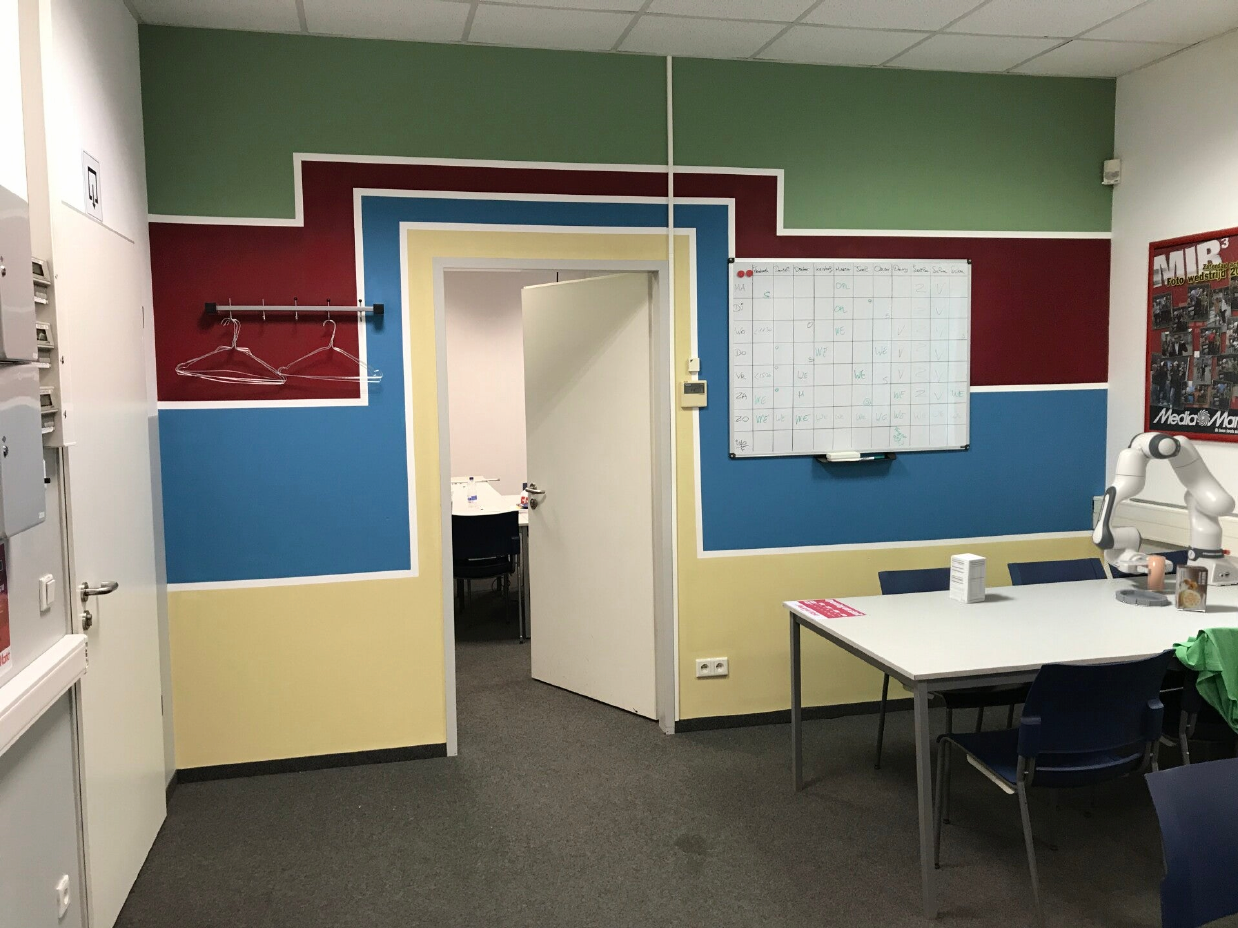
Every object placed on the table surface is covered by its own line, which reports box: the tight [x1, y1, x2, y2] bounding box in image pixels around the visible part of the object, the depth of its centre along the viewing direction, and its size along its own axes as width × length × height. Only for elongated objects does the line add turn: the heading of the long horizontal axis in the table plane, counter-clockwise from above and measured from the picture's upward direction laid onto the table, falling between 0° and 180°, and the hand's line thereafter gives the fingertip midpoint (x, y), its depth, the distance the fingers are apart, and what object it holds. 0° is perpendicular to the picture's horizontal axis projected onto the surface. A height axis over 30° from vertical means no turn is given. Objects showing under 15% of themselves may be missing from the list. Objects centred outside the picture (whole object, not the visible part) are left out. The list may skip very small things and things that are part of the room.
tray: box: [1115, 588, 1169, 607], centre depth 350 cm, size 17×17×2 cm
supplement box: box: [949, 552, 988, 604], centre depth 350 cm, size 10×9×17 cm
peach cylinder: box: [1146, 554, 1167, 592], centre depth 360 cm, size 6×6×13 cm
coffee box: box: [1174, 564, 1208, 610], centre depth 338 cm, size 9×6×16 cm
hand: (1157, 570), depth 359 cm, fingers closed on peach cylinder, 6 cm apart
